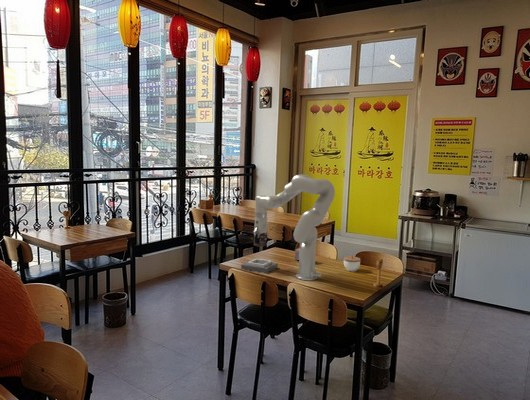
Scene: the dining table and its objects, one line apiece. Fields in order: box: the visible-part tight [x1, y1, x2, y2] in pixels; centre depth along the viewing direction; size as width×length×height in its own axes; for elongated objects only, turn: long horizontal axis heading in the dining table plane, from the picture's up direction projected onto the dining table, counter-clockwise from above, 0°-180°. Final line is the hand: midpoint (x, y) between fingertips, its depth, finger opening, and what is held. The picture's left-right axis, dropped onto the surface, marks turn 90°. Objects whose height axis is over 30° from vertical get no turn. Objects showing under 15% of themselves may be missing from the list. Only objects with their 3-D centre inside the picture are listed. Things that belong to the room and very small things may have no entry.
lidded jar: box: [343, 255, 362, 272], centre depth 259 cm, size 11×11×9 cm
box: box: [253, 233, 268, 248], centre depth 256 cm, size 6×6×7 cm
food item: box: [294, 247, 300, 261], centre depth 278 cm, size 14×8×10 cm, turn 44°
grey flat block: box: [240, 258, 279, 274], centre depth 258 cm, size 18×16×4 cm
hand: (260, 242), depth 256 cm, fingers closed on box, 8 cm apart
